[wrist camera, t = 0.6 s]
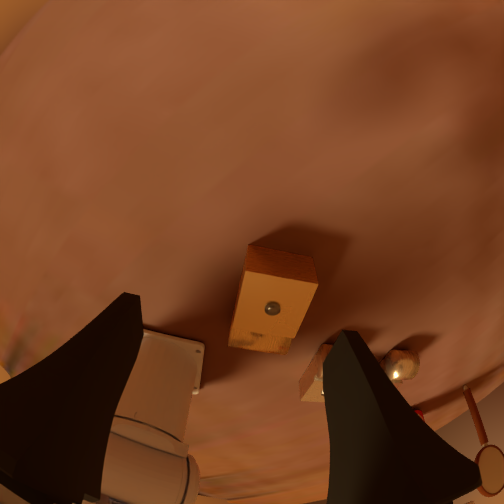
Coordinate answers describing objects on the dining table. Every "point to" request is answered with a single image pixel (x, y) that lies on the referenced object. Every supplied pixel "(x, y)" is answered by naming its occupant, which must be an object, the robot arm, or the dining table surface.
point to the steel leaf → (394, 364)
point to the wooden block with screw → (271, 299)
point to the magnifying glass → (486, 454)
